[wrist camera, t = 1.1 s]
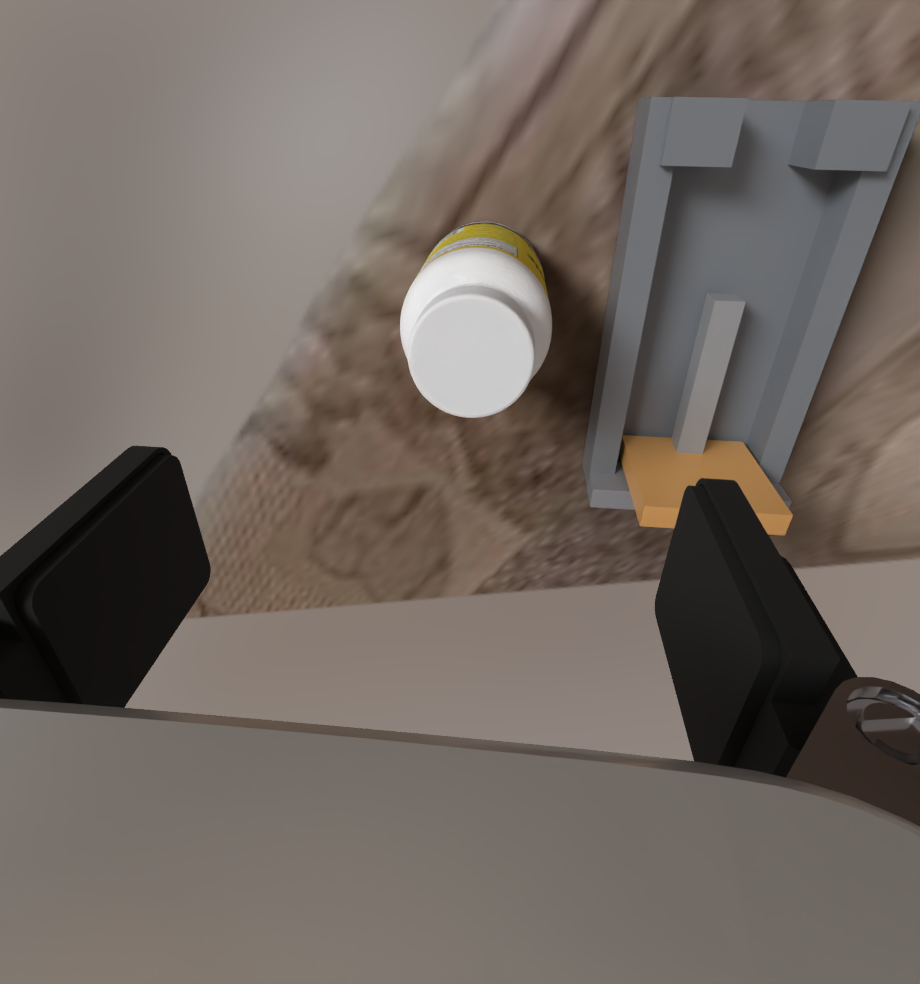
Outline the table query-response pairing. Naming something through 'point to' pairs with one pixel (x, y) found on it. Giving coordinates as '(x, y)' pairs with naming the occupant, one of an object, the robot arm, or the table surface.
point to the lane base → (736, 264)
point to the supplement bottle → (477, 320)
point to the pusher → (699, 436)
